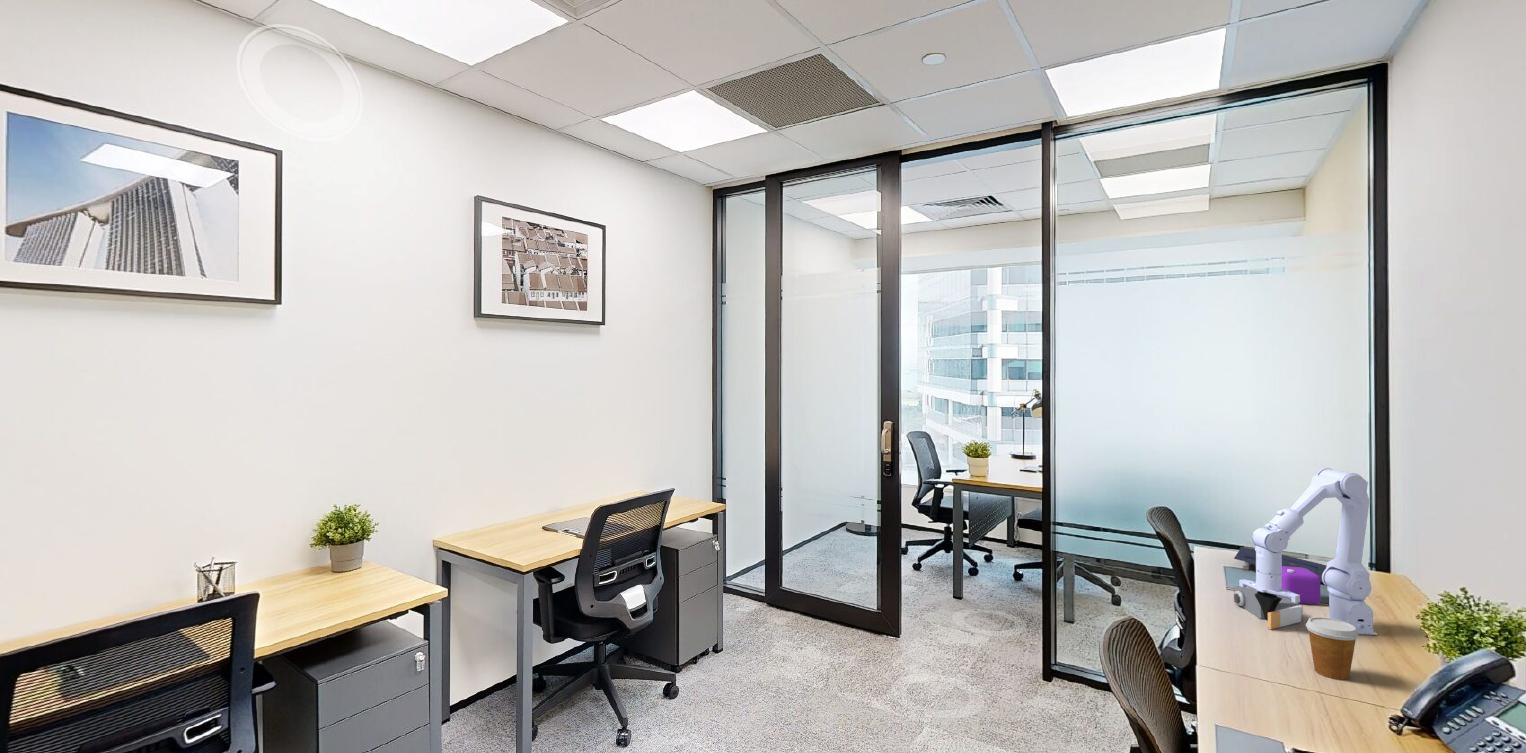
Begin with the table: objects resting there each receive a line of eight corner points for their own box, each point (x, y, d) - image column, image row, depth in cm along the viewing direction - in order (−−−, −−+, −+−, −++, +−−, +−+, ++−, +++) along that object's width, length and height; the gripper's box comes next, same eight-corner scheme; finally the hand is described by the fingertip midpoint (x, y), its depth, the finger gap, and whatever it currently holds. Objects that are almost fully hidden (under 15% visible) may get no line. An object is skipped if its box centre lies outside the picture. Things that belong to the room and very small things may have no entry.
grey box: (1303, 622, 185) (1303, 603, 185) (1258, 620, 187) (1258, 601, 187) (1271, 603, 200) (1271, 585, 200) (1229, 601, 202) (1229, 583, 202)
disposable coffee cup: (1305, 661, 162) (1305, 613, 161) (1357, 672, 156) (1357, 622, 155) (1306, 675, 154) (1305, 625, 154) (1360, 687, 148) (1360, 635, 148)
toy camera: (1296, 591, 211) (1296, 560, 211) (1328, 606, 197) (1328, 573, 197) (1260, 590, 212) (1260, 560, 212) (1290, 605, 198) (1290, 573, 198)
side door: (1297, 620, 186) (1297, 605, 186) (1301, 621, 185) (1300, 606, 185) (1267, 628, 181) (1267, 612, 181) (1270, 629, 180) (1270, 613, 180)
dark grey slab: (1240, 552, 250) (1242, 543, 250) (1344, 577, 230) (1345, 567, 230) (1231, 567, 232) (1233, 557, 232) (1343, 596, 212) (1344, 585, 212)
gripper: (1232, 566, 188) (1232, 612, 188) (1288, 581, 174) (1288, 631, 174) (1248, 563, 190) (1248, 609, 190) (1304, 578, 177) (1304, 627, 177)
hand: (1268, 619), depth 183 cm, fingers closed
